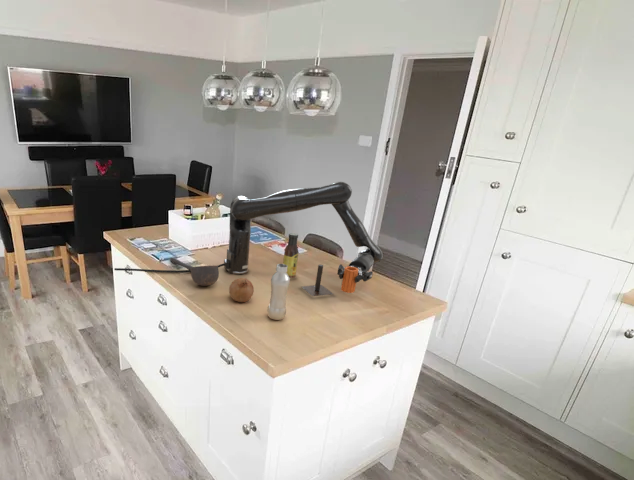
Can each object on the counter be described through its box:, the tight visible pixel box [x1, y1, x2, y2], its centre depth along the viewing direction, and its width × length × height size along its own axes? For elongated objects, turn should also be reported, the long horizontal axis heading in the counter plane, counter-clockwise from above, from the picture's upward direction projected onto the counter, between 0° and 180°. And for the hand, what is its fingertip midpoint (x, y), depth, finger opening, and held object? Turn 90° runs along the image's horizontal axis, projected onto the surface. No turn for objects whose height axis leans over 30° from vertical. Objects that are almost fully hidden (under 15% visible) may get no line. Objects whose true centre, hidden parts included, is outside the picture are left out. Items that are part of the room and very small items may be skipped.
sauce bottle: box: [282, 232, 300, 279], centre depth 183 cm, size 6×6×20 cm
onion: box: [228, 277, 255, 303], centre depth 159 cm, size 10×9×10 cm
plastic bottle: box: [266, 263, 291, 321], centre depth 145 cm, size 6×7×20 cm
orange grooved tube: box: [340, 265, 359, 294], centre depth 162 cm, size 5×5×9 cm
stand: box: [301, 264, 334, 297], centre depth 171 cm, size 10×10×12 cm
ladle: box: [169, 257, 220, 287], centre depth 181 cm, size 12×38×10 cm, turn 35°
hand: (348, 278), depth 159 cm, fingers closed on orange grooved tube, 5 cm apart
